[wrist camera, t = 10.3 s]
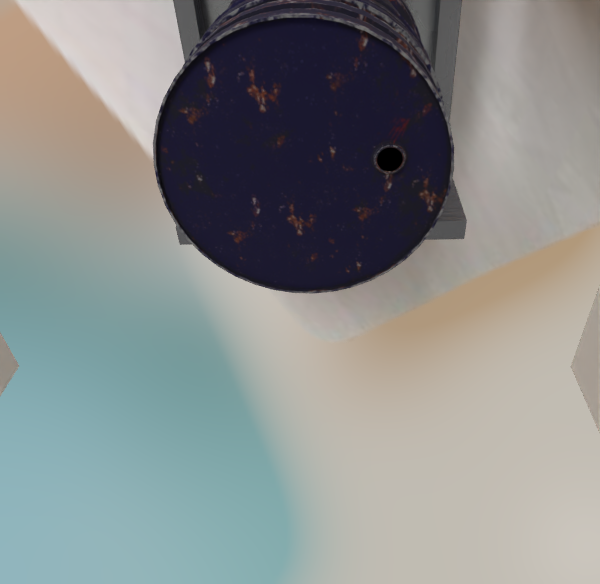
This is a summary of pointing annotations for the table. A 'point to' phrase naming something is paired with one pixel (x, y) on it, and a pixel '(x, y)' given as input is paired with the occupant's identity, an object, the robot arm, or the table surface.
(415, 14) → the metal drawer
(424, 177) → the dark navy cylinder
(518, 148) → the table surface
